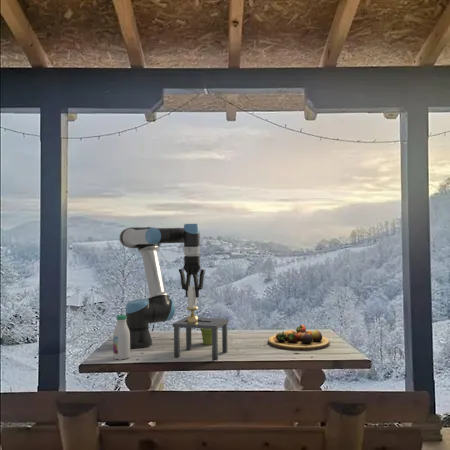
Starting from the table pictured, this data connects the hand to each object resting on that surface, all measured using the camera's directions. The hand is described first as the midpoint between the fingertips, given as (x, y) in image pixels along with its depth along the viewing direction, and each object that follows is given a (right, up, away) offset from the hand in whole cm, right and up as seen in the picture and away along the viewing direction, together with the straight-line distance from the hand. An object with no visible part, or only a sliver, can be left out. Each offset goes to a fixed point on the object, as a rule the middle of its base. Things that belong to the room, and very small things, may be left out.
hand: (192, 304), depth 238 cm
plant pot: (+7, -24, +21) cm, 33 cm away
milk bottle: (-33, -25, -6) cm, 42 cm away
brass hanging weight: (0, -11, 0) cm, 11 cm away
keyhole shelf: (+4, -24, -1) cm, 24 cm away
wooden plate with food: (+54, -24, +20) cm, 63 cm away
